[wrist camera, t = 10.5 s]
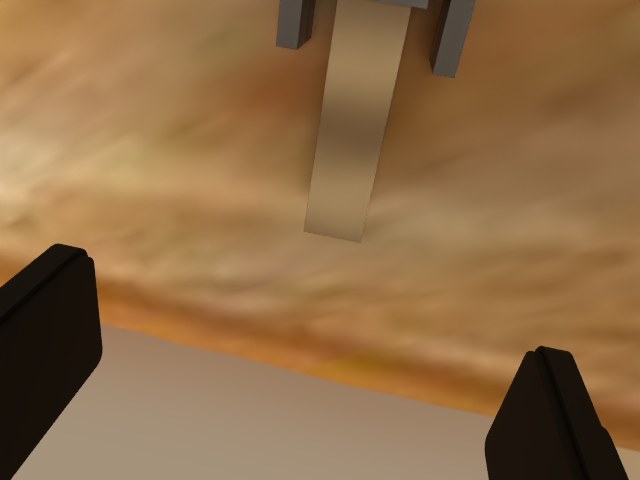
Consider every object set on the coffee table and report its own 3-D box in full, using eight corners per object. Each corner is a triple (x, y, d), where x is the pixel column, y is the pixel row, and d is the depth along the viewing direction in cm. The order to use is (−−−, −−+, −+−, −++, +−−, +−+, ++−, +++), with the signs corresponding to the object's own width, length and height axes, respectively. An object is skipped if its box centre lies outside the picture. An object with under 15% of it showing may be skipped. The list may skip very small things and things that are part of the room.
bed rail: (375, 210, 31) (370, 252, 27) (306, 196, 32) (290, 236, 27) (426, -18, 25) (431, -13, 20) (339, -33, 25) (325, -31, 21)
